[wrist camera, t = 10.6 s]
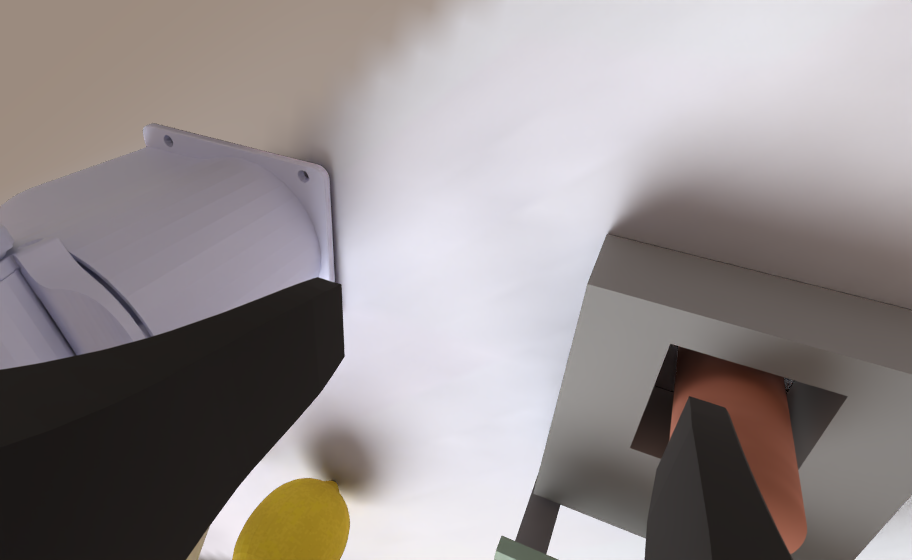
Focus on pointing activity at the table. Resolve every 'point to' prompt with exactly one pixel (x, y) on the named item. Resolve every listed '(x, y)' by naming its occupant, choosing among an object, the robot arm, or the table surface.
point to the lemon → (297, 524)
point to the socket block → (743, 342)
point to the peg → (751, 429)
